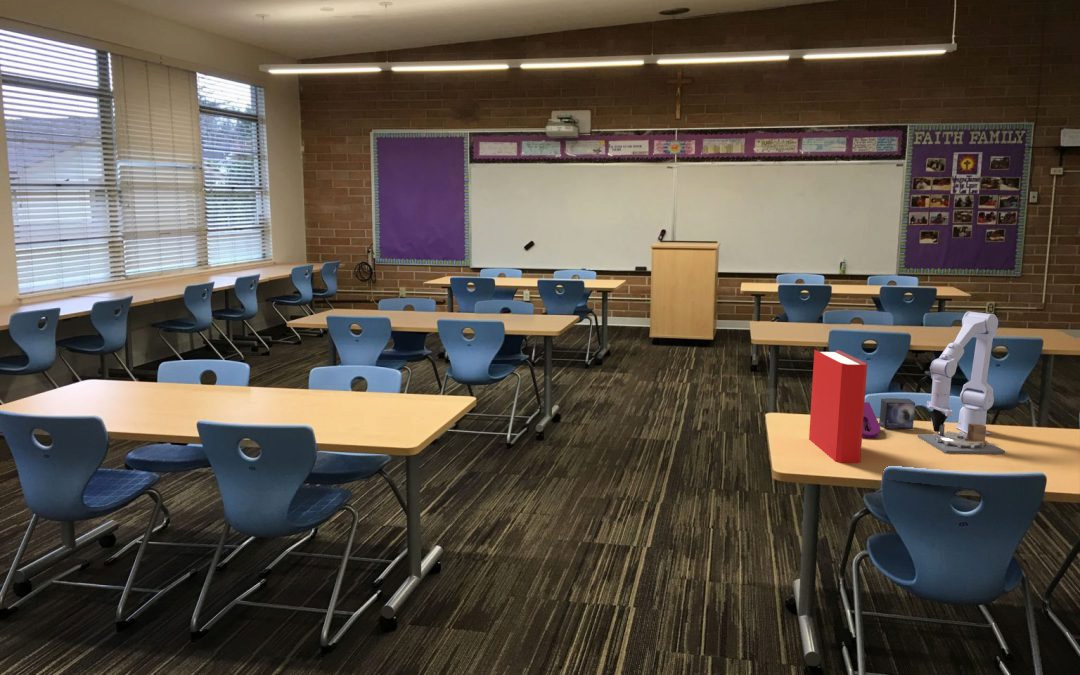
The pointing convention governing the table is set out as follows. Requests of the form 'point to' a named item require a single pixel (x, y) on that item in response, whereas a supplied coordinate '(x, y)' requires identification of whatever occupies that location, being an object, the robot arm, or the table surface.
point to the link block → (976, 432)
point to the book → (838, 405)
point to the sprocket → (957, 439)
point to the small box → (897, 413)
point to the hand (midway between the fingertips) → (937, 431)
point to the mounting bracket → (870, 423)
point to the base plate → (963, 450)
